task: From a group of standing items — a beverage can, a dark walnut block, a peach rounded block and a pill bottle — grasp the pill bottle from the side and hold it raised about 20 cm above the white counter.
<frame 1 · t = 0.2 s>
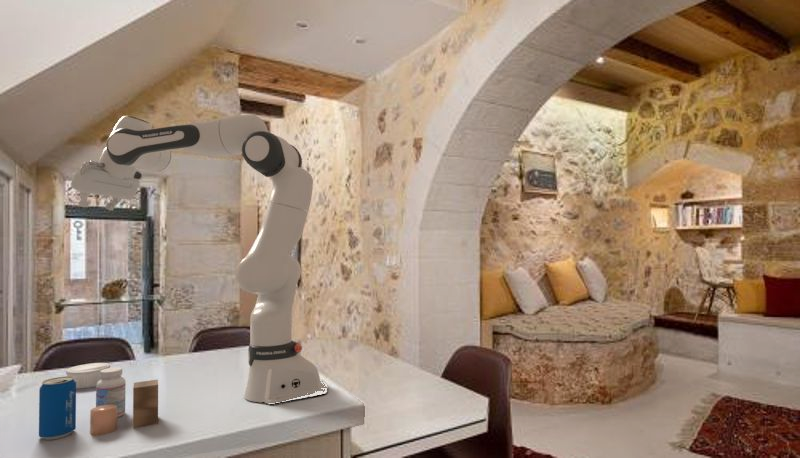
hand: (96, 207, 136), 54 cm above the counter, tool tilted 25°, fingers open, 8 cm apart
ramekin: (88, 385, 138), on the counter
pill bottle: (110, 416, 111), on the counter
peach rounded block: (103, 430, 102), on the counter
walnut block: (145, 422, 106), on the counter
beverage can: (57, 436, 99), on the counter
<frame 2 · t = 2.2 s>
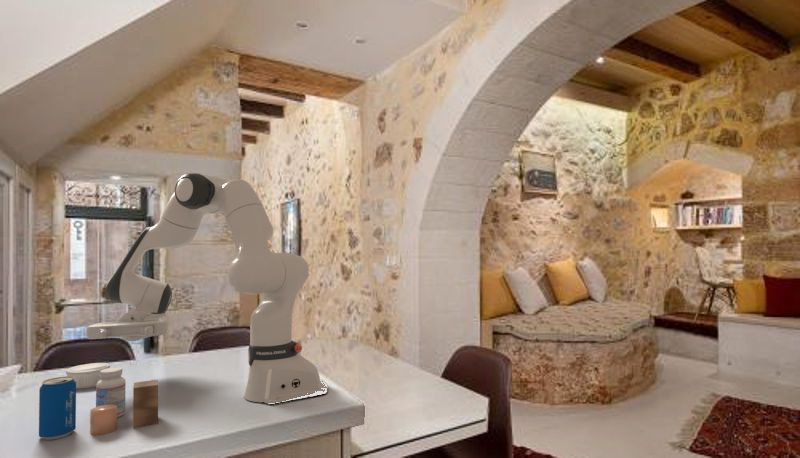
hand: (123, 333, 123), 18 cm above the counter, tool horizontal, fingers open, 8 cm apart
nothing on the counter moved.
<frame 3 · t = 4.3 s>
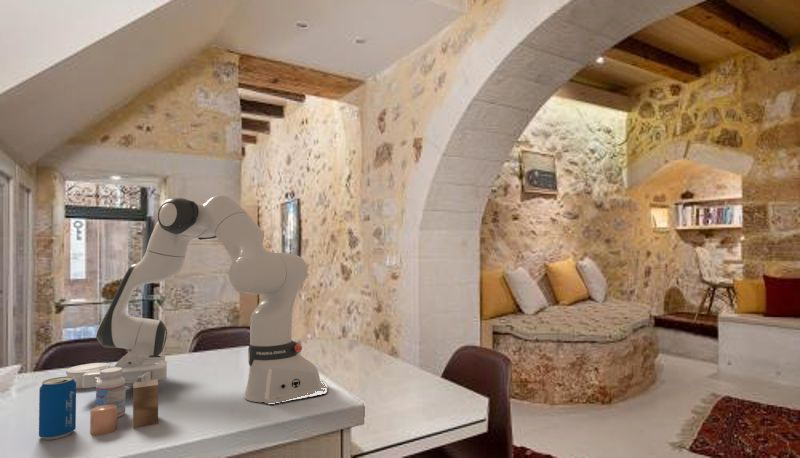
hand: (119, 382, 119), 6 cm above the counter, tool horizontal, fingers open, 8 cm apart
nothing on the counter moved.
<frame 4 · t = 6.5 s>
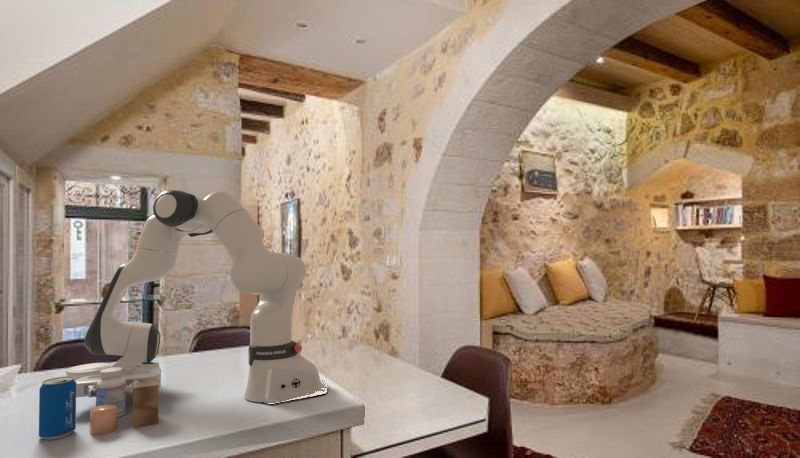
hand: (110, 392, 110), 6 cm above the counter, tool horizontal, fingers closed on pill bottle, 6 cm apart
pill bottle: (110, 416, 111), on the counter, touching gripper
everything else where it was.
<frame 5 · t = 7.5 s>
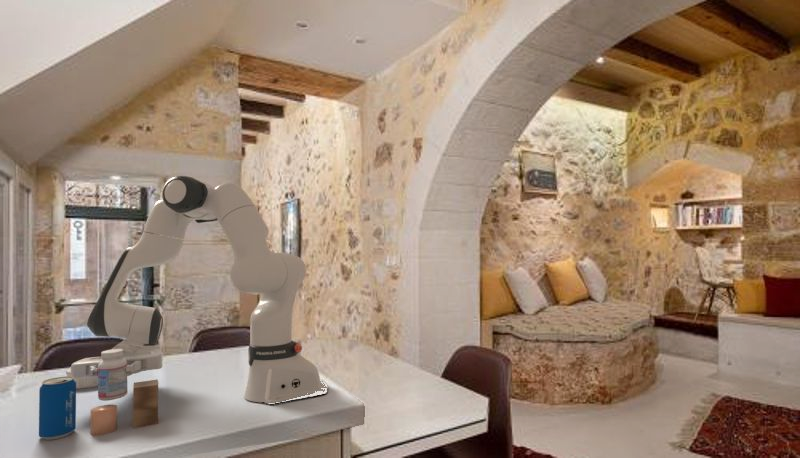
hand: (111, 371, 110), 11 cm above the counter, tool horizontal, fingers closed on pill bottle, 6 cm apart
pill bottle: (113, 398, 111), point 4 cm above the counter, touching gripper
everything else where it was.
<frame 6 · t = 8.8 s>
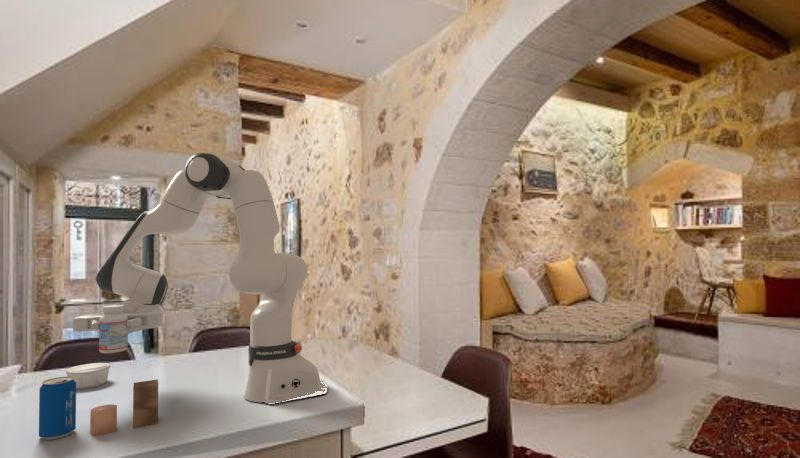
hand: (112, 325, 113), 22 cm above the counter, tool horizontal, fingers closed on pill bottle, 6 cm apart
pill bottle: (113, 351, 113), point 15 cm above the counter, touching gripper
everything else where it was.
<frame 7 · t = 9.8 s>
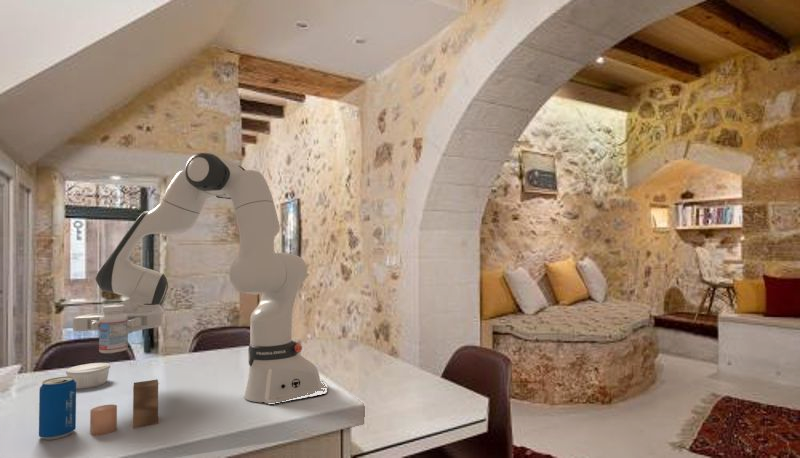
hand: (112, 325, 113), 22 cm above the counter, tool horizontal, fingers closed on pill bottle, 6 cm apart
pill bottle: (113, 351, 113), point 15 cm above the counter, touching gripper
everything else where it was.
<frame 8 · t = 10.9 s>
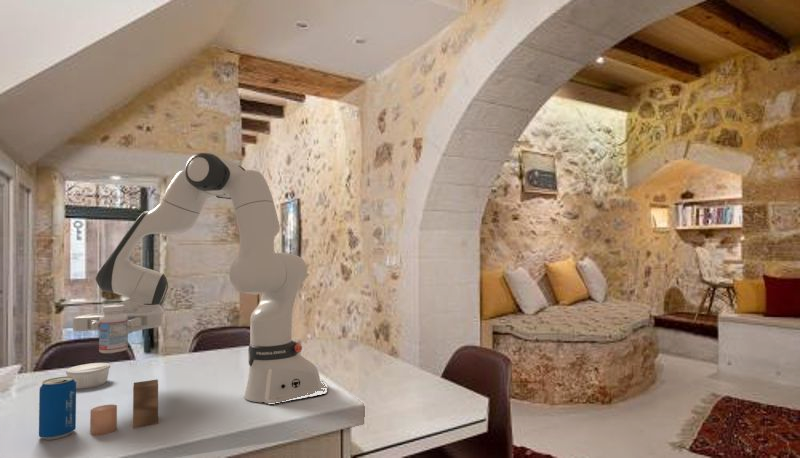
hand: (112, 325, 113), 22 cm above the counter, tool horizontal, fingers closed on pill bottle, 6 cm apart
pill bottle: (113, 351, 113), point 15 cm above the counter, touching gripper
everything else where it was.
at the end: the gripper is holding pill bottle; pill bottle point 15.1 cm above the counter; beverage can moved 0.2 cm from its start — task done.
